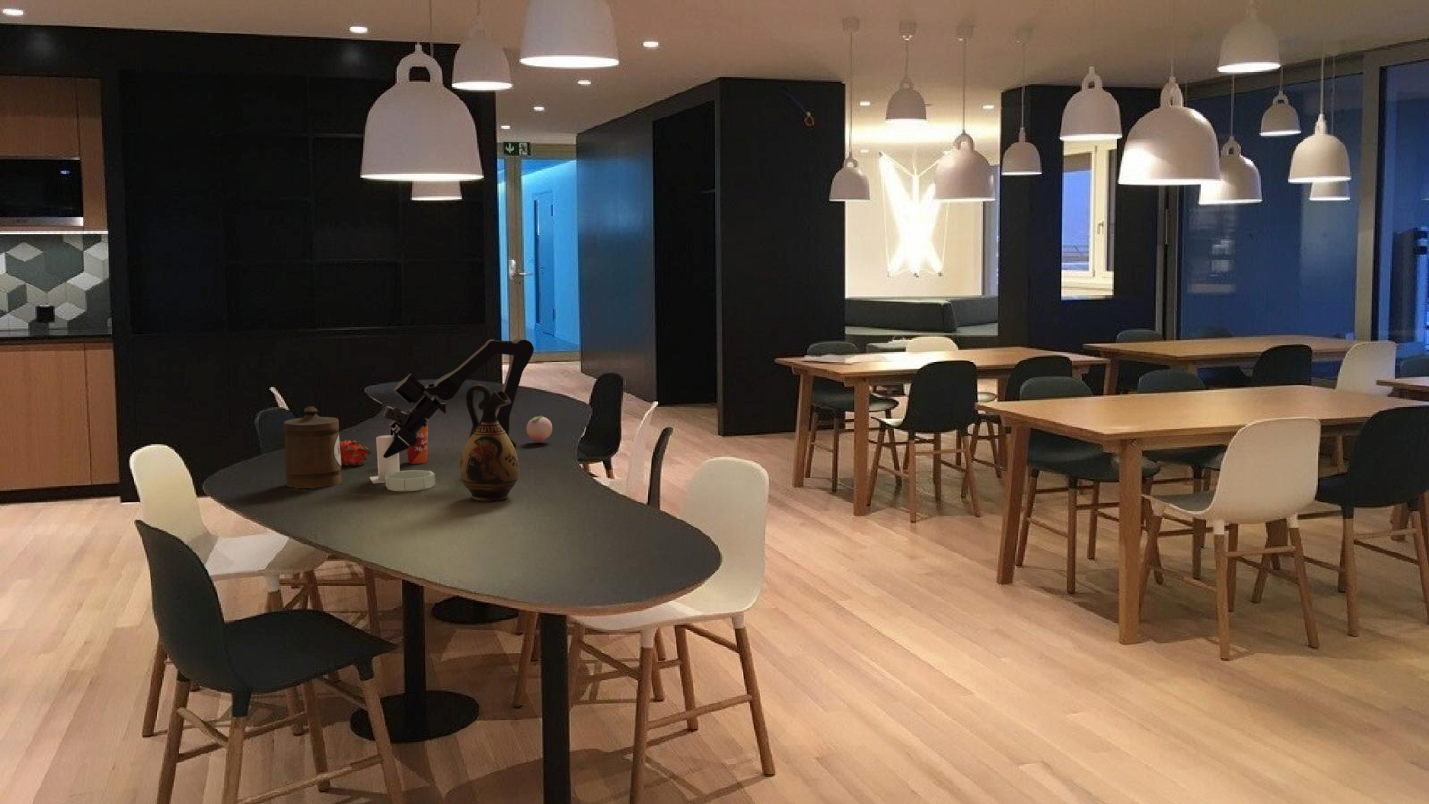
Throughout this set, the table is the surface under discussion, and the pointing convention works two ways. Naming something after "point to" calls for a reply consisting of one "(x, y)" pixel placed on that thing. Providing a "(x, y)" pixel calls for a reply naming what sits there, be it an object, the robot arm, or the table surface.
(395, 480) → the bowl
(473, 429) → the ceramic jug
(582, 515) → the table surface
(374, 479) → the mat
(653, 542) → the table surface
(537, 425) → the decorative fruit
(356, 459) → the dragon fruit
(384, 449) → the white cylinder
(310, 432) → the wooden container
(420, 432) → the paper cup
